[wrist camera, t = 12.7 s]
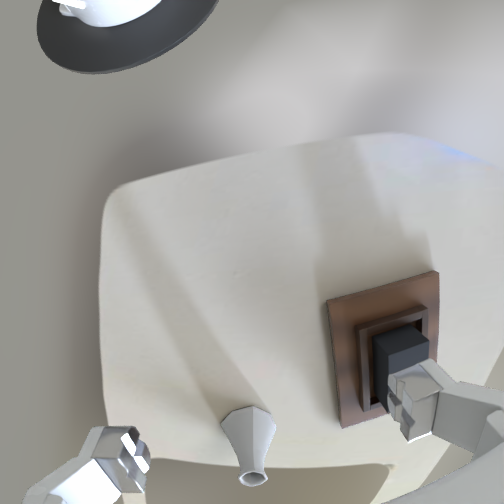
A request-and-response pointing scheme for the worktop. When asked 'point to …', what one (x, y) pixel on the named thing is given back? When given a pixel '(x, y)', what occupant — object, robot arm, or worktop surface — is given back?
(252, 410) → the flask
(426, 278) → the back plate
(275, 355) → the worktop surface
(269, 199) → the worktop surface
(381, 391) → the dark gray block
